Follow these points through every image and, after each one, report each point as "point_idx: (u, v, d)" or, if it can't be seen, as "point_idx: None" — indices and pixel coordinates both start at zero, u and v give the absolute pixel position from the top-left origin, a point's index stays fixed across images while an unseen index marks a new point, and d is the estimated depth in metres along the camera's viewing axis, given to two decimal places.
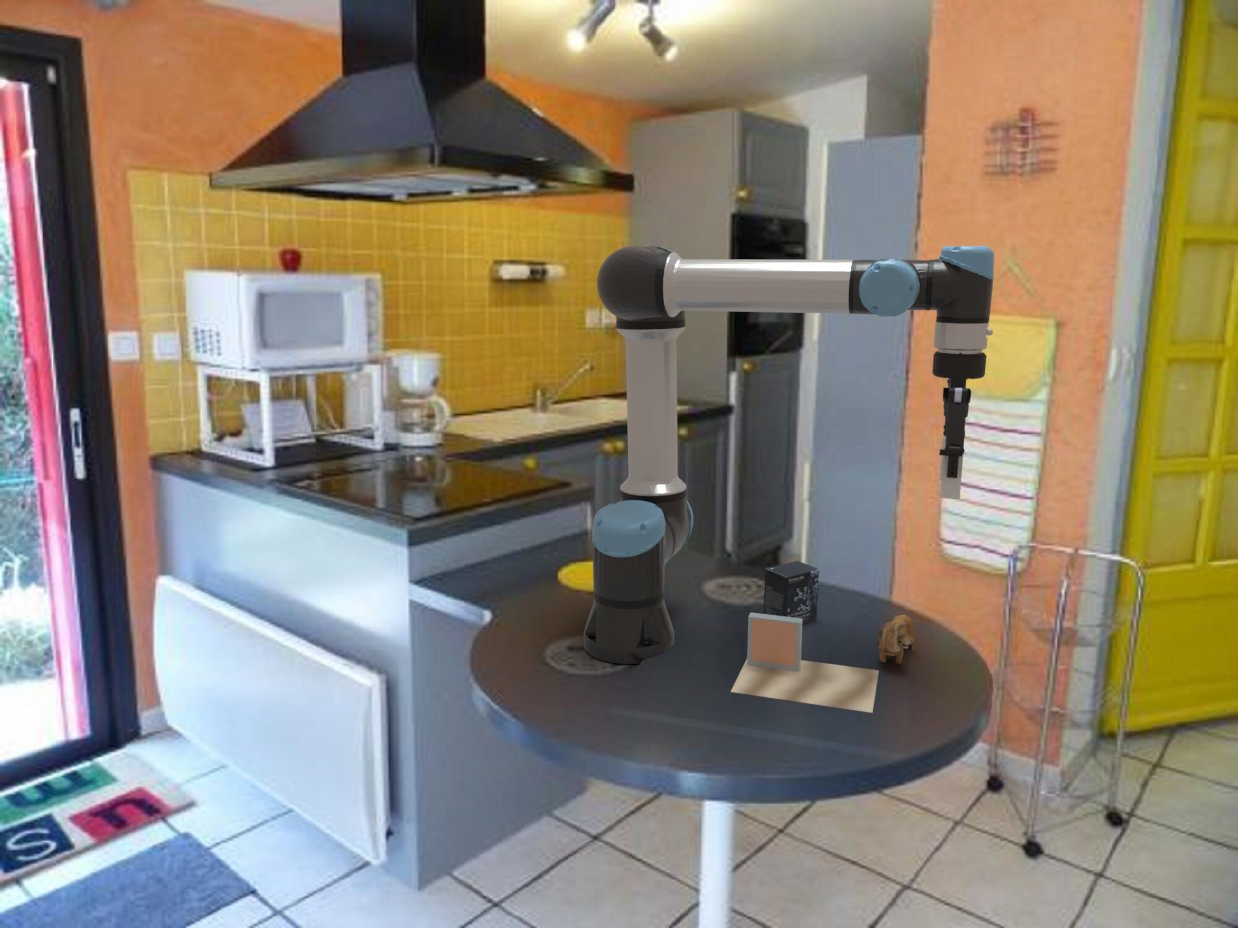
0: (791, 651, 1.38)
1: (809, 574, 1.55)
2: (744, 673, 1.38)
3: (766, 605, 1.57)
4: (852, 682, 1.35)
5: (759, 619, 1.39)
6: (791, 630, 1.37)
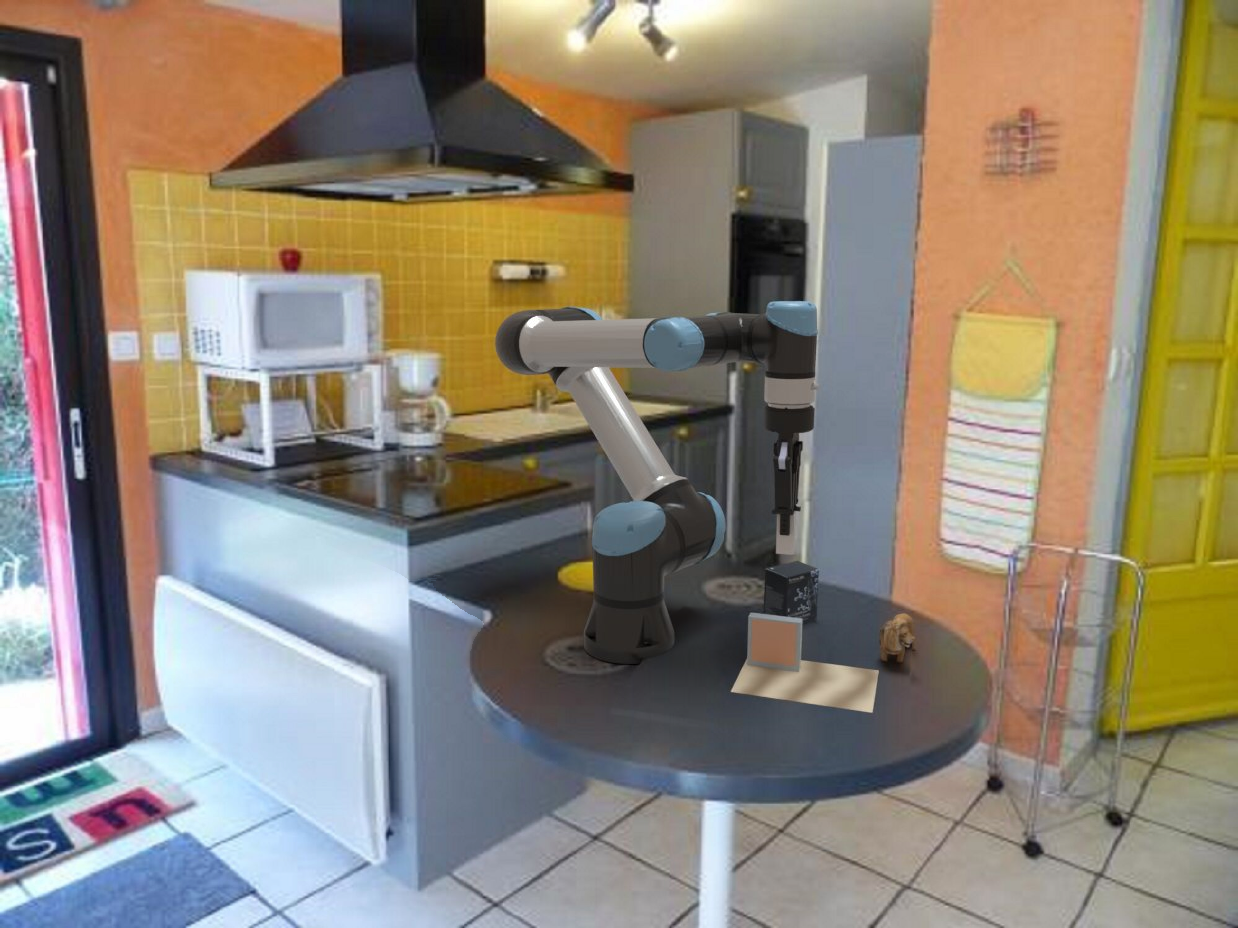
0: (791, 651, 1.38)
1: (808, 574, 1.55)
2: (744, 673, 1.38)
3: (766, 605, 1.57)
4: (852, 682, 1.35)
5: (759, 619, 1.39)
6: (791, 630, 1.37)
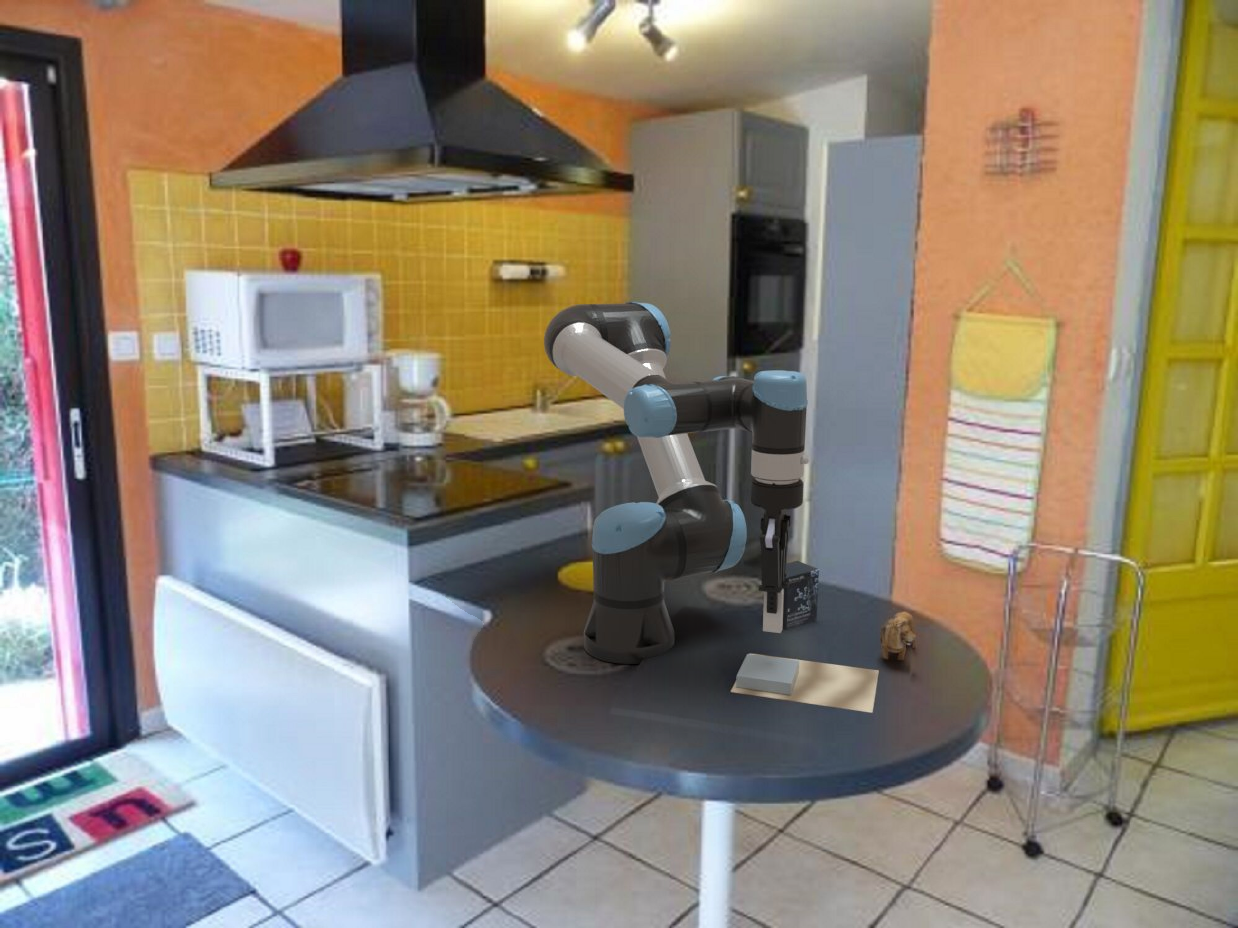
0: None
1: (809, 574, 1.55)
2: None
3: None
4: (852, 682, 1.35)
5: None
6: None
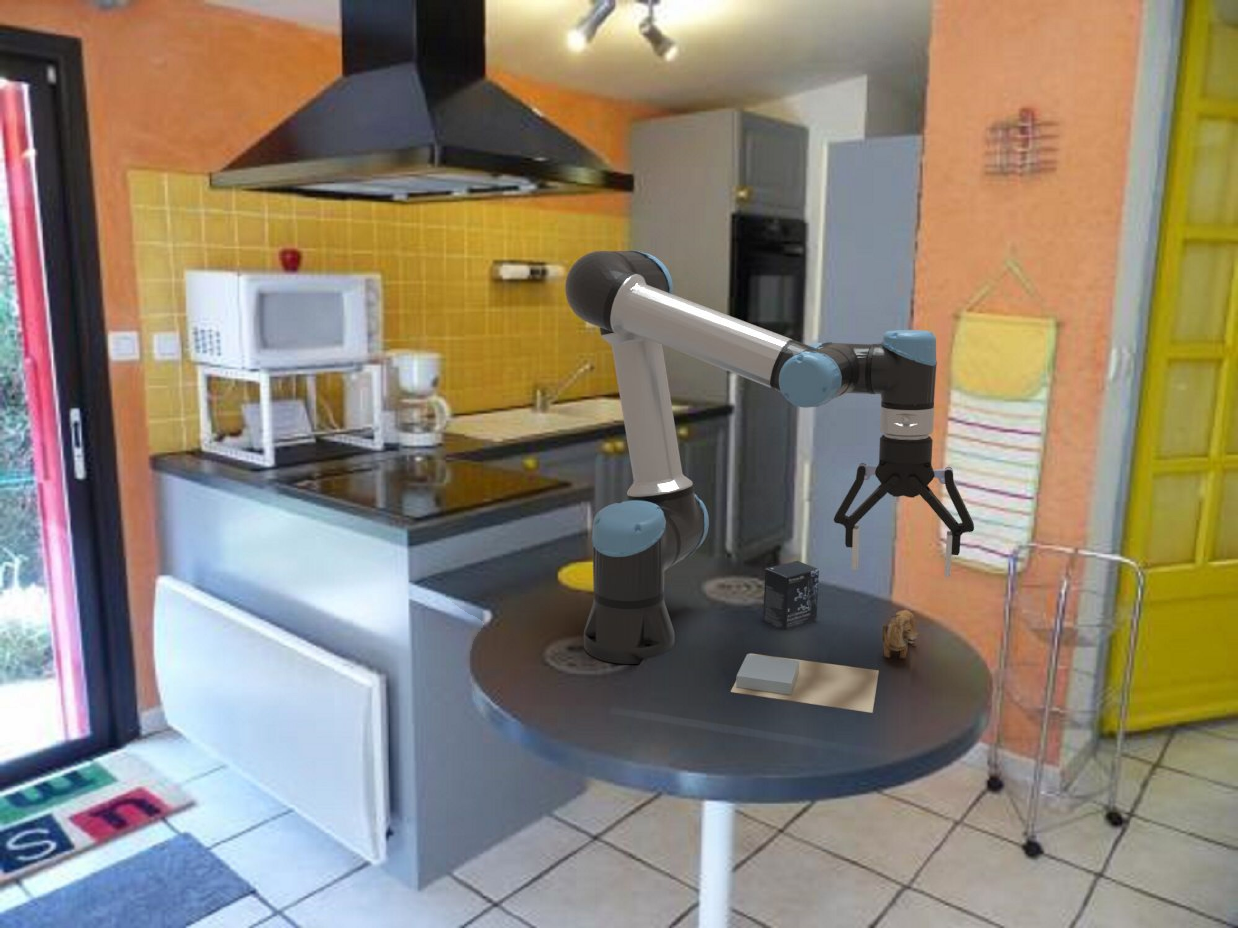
0: None
1: (809, 574, 1.55)
2: None
3: (766, 605, 1.57)
4: (852, 682, 1.35)
5: None
6: None
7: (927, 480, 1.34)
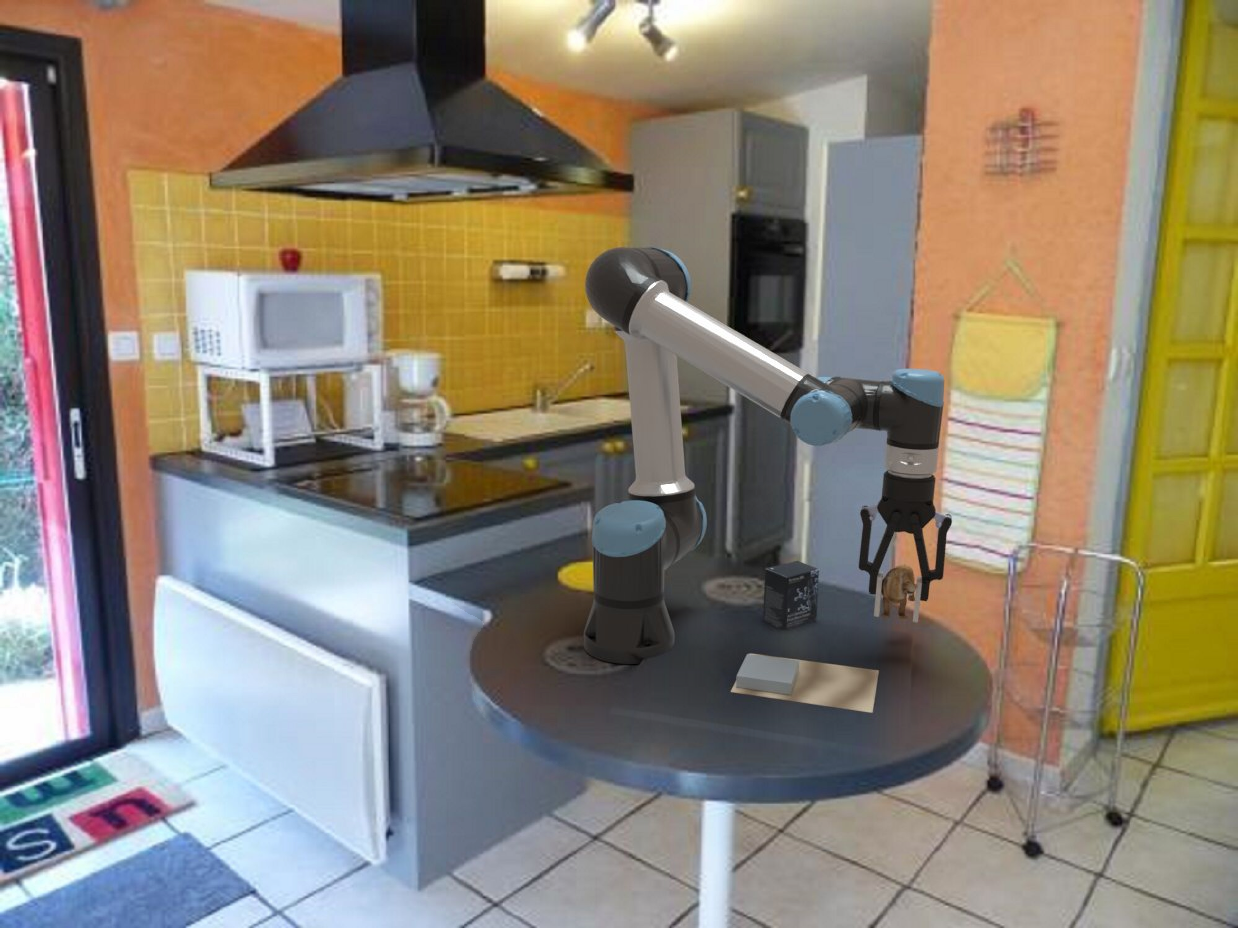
0: None
1: (808, 574, 1.55)
2: None
3: (766, 605, 1.57)
4: (852, 682, 1.35)
5: None
6: None
7: (928, 518, 1.36)
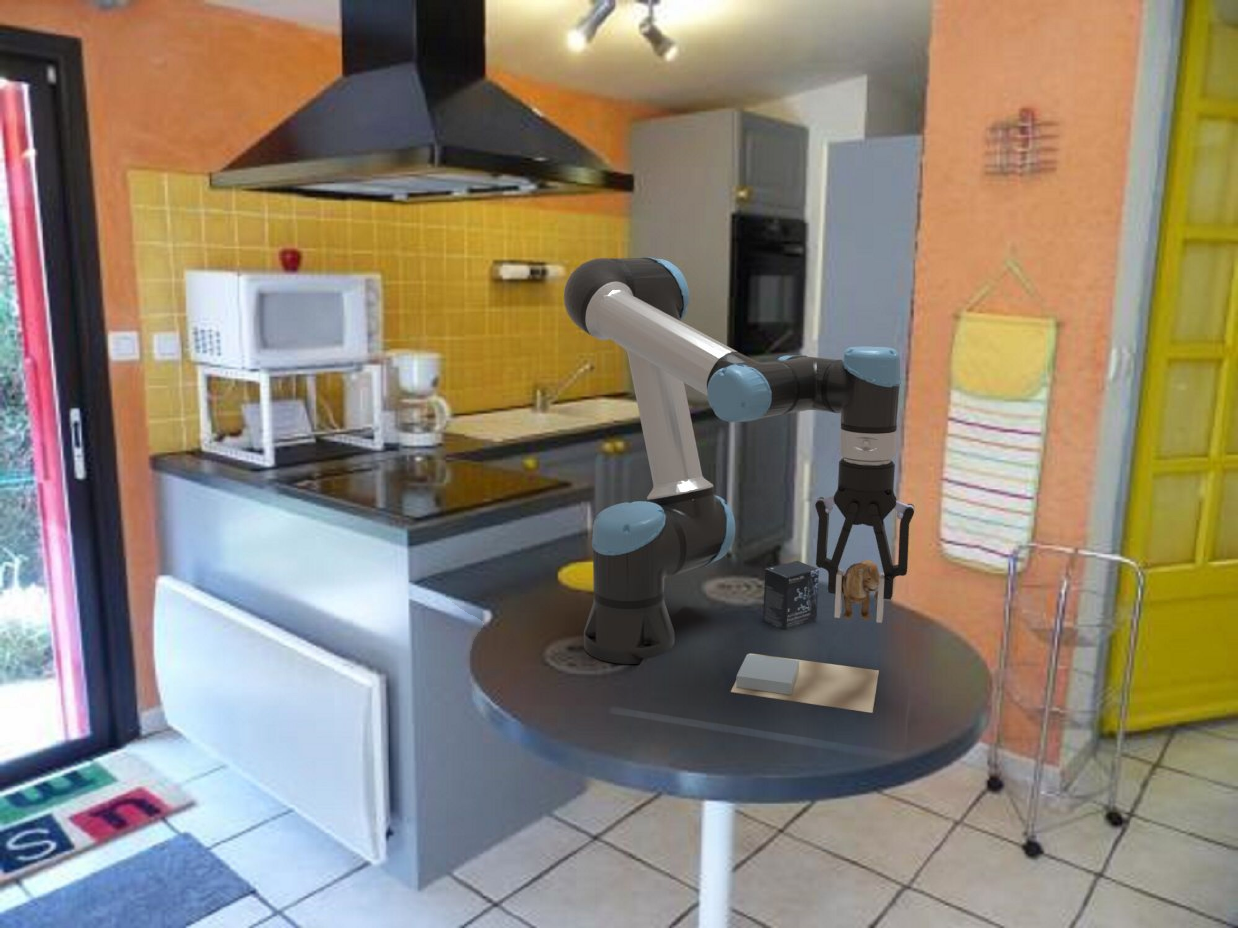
0: None
1: (808, 574, 1.55)
2: None
3: (766, 605, 1.57)
4: (852, 682, 1.35)
5: None
6: None
7: (888, 508, 1.25)
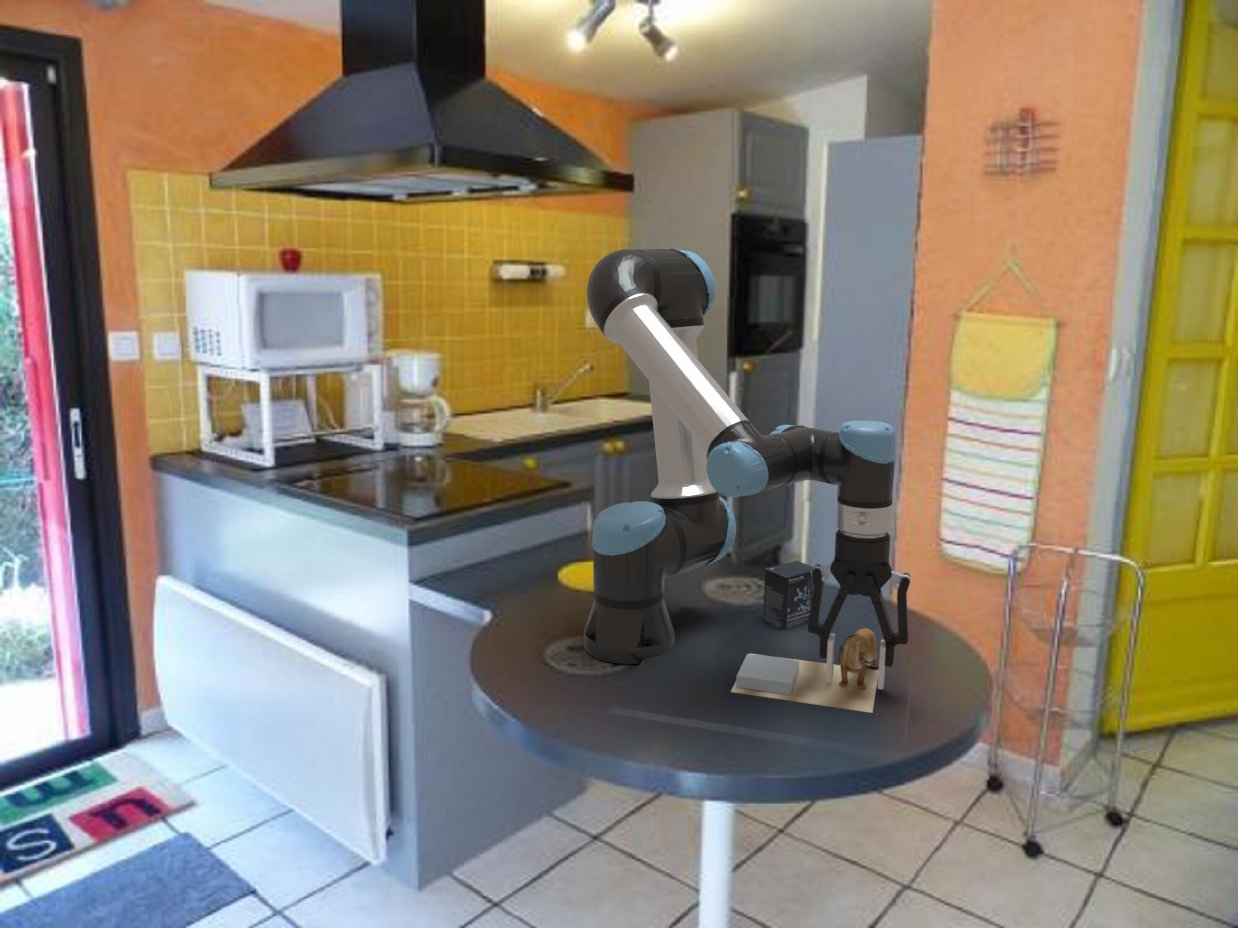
0: None
1: (809, 574, 1.55)
2: None
3: (766, 605, 1.57)
4: (852, 682, 1.35)
5: None
6: None
7: (884, 579, 1.27)
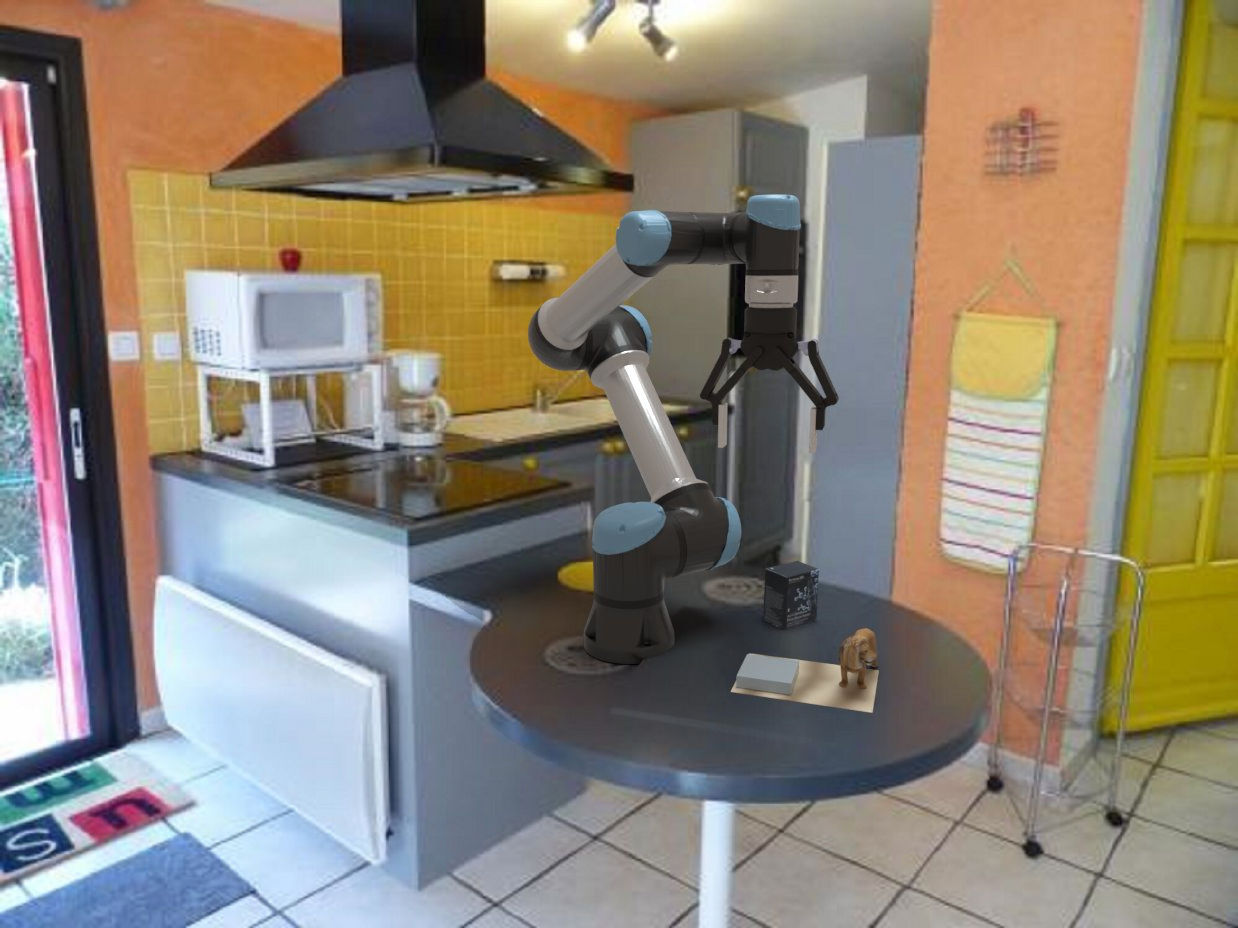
0: None
1: (808, 574, 1.55)
2: None
3: (766, 605, 1.57)
4: (852, 682, 1.35)
5: None
6: None
7: (791, 352, 1.31)
